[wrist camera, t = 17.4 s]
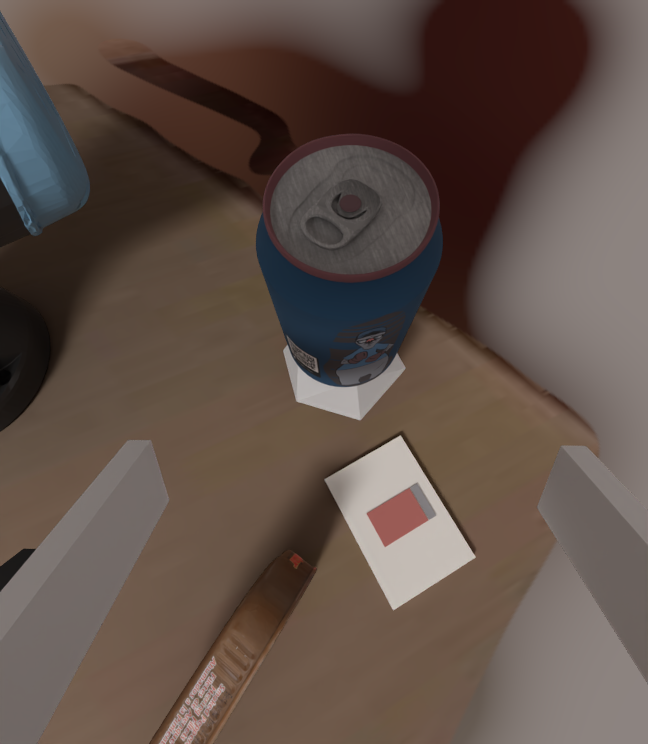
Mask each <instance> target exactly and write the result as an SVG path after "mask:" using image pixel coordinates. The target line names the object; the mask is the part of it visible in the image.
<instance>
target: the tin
mask: <svg viewBox="0 0 648 744" xmlns="http://www.w3.org/2000/svg"><path fill="white" fill-rule="evenodd" d="M316 571H317V568H316V567H313V566H311V565H310V564H308V563H307V562H306V561H305V560H303V559H302V558H301V557H300V556H299V555H297V554H296V553H294V552H293V551H291V550H286V551H284V552H283V553H282V555H281V556H279V557H278V558H276V559H275V560H274V561H272V562H271V563H270V564H269V566H268V567H267V568H266V569H265V570H264V572H263V573H262V574H261V576H260V577H259V578H258V580H257V581H256V582H255V584H254V585H253V586H252V587H251V589H250V590H249V592H248V593H247V595H246V596H245V597H244V599H243V600H242V602H241V603H240V605H239V606H238V608H237V609H236V610H235V612H234V613H233V615H232V616H231V618H230V619H229V621H228V622H227V624H226V625H225V627H224V628H223V630H222V631H221V633H220V634H219V636H218V637H217V639H216V640H215V642H214V643H213V645H212V646H211V648H210V650H209V651H208V653H207V654H206V656H205V657H204V659H203V660H202V662H201V663H200V665H199V666H198V668H197V670H196V671H195V673H194V674H193V676H192V677H191V679H190V680H189V682H188V683H187V685H186V686H185V688H184V689H183V691H182V693H181V694H180V696H179V697H178V699H177V700H176V702H175V704H174V705H173V707H172V708H171V710H170V711H169V713H168V714H167V716H166V718H165V719H164V721H163V722H162V724H161V726H160V727H159V729H158V730H157V732H156V733H155V735H154V736H153V738H152V740H151V741H150V743H149V744H214V742H215V740H216V738H217V737H218V735H219V734H220V732H221V730H222V729H223V727H224V725H225V724H226V722H227V720H228V719H229V717H230V715H231V714H232V712H233V710H234V709H235V707H236V705H237V704H238V702H239V701H240V699H241V697H242V695H243V694H244V692H245V690H246V689H247V687H248V685H249V684H250V682H251V681H252V679H253V677H254V676H255V674H256V672H257V671H258V669H259V668H260V666H261V664H262V663H263V661H264V659H265V658H266V656H267V654H268V653H269V651H270V649H271V648H272V646H273V644H274V643H275V641H276V639H277V637H278V636H279V634H280V632H281V631H282V629H283V628H284V626H285V624H286V623H287V620H288V619H289V617H290V615H291V614H292V612H293V610H294V609H295V607H296V605H297V604H298V602H299V600H300V599H301V597H302V595H303V594H304V592H305V590H306V588H307V587H308V585H309V583H310V581H311V580H312V578H313V576H314V574H315V573H316Z"/></svg>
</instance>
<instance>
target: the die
mask: <svg viewBox="0 0 648 744" xmlns="http://www.w3.org/2000/svg"><path fill="white" fill-rule="evenodd" d="M283 352H284V356H285V360H286V363H287V367H288V371H289V375H290V379H291V382H292V386H293V390H294V394H295V398H296V401H297V402H300V403H304V404H307V405H310V406H314V407H317V408H321V409H324V410H327V411H331V412H334V413H337V414H341V415H344V416H347V417H351V418H354V419H357V420H361V419H362V418H363V417H364V416H365V415H366V413H367V412H368V411H369V410H370V409H371V408H372V407H373V405H374V404H375V403H376V402H377V401H378V400H379V399H380V397H381V396H382V395H383V394H384V393H385V392H386V391H387V389H388V388H389V387H390V386H391V385H392V384H393V383H394V381H395V380H396V379H397V378H398V377H399V376H400V375H401V373H402V372H403V371H404V370H405V369H406V368H405V366H404V364H403V363H402V361H401V359H400V357H399V355H398V353H397V354H396V356H395V358H394V360H393V361H392V363H391V364H390V366H389V367H388V368H387V369H386V370H385V371H384V372H383V373H382V374H381V375H379V376H378V377H376V378H375V379H373V380H371V381H369V382H367V383H365V384H362V385H358V386H353V387H334V386H329V385H326V384H323V383H320V382H318V381H316V380H314V379H312V378H311V377H309V376H308V375H307V374H306V373H304V372H303V371H302V370H301V369H300V368H299V366H298V365H297V364H296V362H295V361H294V359H293V357H292V355H291V353H290V350H289V347H288V345H287V346H286V348H285V349H284V350H283Z"/></svg>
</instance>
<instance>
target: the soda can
mask: <svg viewBox="0 0 648 744" xmlns="http://www.w3.org/2000/svg"><path fill="white" fill-rule="evenodd" d="M439 211H440V200H439V194H438V190H437V187H436V184H435V181H434V179H433V177H432V175H431V173H430V172H429V171H428V169H427V168H426V166H425V165H424V164H423V163H422V162H421V161H420V160H419V159H418V158H417V157H416V156H415V155H414V154H412V153H411V152H410V151H408V150H407V149H405V148H403V147H402V146H400V145H398V144H396V143H394V142H391V141H389V140H386V139H383V138H379V137H376V136H370V135H363V134H340V135H333V136H327V137H323V138H319V139H316V140H313V141H310V142H308V143H306V144H304V145H302V146H300V147H299V148H297V149H296V150H294V151H293V152H292V153H290V154H289V155H288V156H287V157H286V158H285V159H284V160H283V161H282V162H281V163H280V164H279V165H278V167H277V168H276V169H275V170H274V172H273V174H272V175H271V177H270V179H269V181H268V183H267V186H266V189H265V192H264V197H263V213H262V215H261V218H260V221H259V224H258V229H257V235H256V251H257V257H258V261H259V264H260V267H261V270H262V273H263V276H264V278H265V281H266V284H267V287H268V290H269V293H270V296H271V298H272V301H273V304H274V307H275V310H276V313H277V316H278V318H279V321H280V324H281V327H282V330H283V333H284V336H285V339H286V341H287V344H288V347H289V350H290V353H291V355H292V357H293V359H294V361H295V362H296V364H297V365H298V366H299V368H300V369H301V370H302V371H303V372H304V373H306V374H307V375H308V376H309V377H311V378H312V379H314V380H316V381H318V382H320V383H323V384H326V385H329V386H334V387H353V386H358V385H362V384H365V383H367V382H369V381H371V380H373V379H375V378H376V377H378V376H379V375H381V374H382V373H383V372H384V371H385V370H386V369H387V368H388V367H389V366H390V364H391V363H392V361H393V360H394V358H395V356H396V354H397V352H398V350H399V348H400V346H401V343H402V341H403V339H404V337H405V335H406V333H407V331H408V329H409V327H410V325H411V323H412V321H413V319H414V316H415V314H416V312H417V310H418V308H419V306H420V304H421V302H422V300H423V298H424V296H425V294H426V291H427V289H428V287H429V285H430V283H431V281H432V279H433V277H434V275H435V273H436V270H437V268H438V266H439V263H440V260H441V255H442V248H443V236H442V229H441V225H440V220H439Z"/></svg>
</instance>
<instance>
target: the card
mask: <svg viewBox="0 0 648 744" xmlns="http://www.w3.org/2000/svg"><path fill="white" fill-rule="evenodd" d="M324 480H325V482H326V484H327V485H328V487H329V489H330V491H331V493H332V495H333V497H334V499H335V501H336V503H337V504H338V506H339V508H340V510H341V512H342V514H343V516H344V518H345V520H346V522H347V523H348V525H349V527H350V529H351V531H352V533H353V535H354V537H355V539H356V541H357V542H358V544H359V546H360V548H361V550H362V552H363V554H364V556H365V558H366V560H367V561H368V563H369V565H370V567H371V569H372V571H373V573H374V575H375V577H376V579H377V580H378V582H379V584H380V586H381V588H382V590H383V592H384V594H385V596H386V598H387V599H388V601H389V603H390V605H391V607H392V609H393V610H395V609H396V608H398V607H399V606H401V605H402V604H404V603H406V602H407V601H409V600H410V599H412V598H413V597H415V596H416V595H418V594H419V593H421V592H423V591H424V590H426V589H427V588H429V587H430V586H432V585H433V584H435V583H437V582H438V581H440V580H441V579H443V578H444V577H446V576H447V575H449V574H451V573H452V572H454V571H455V570H457V569H458V568H460V567H461V566H463V565H464V564H466V563H468V562H469V561H471V560H472V559H474V558H475V555H474V554H473V552H472V550H471V549H470V547H469V546H468V544H467V542H466V541H465V539H464V537H463V536H462V534H461V533H460V531H459V529H458V528H457V526H456V524H455V523H454V521H453V520H452V518H451V516H450V515H449V513H448V511H447V510H446V508H445V507H444V505H443V503H442V502H441V500H440V498H439V497H438V495H437V494H436V492H435V490H434V489H433V487H432V485H431V484H430V482H429V481H428V479H427V477H426V476H425V474H424V472H423V471H422V469H421V468H420V466H419V464H418V463H417V461H416V459H415V458H414V456H413V455H412V453H411V451H410V450H409V448H408V447H407V445H406V443H405V442H404V440H403V438H402V437H401V435H400V436H399V437H397V438H395V439H393V440H392V441H390V442H388V443H387V444H385V445H383V446H381V447H380V448H378V449H376V450H374V451H373V452H371V453H369V454H367V455H366V456H364V457H362V458H361V459H359V460H357V461H355V462H354V463H352V464H350V465H348V466H347V467H345V468H343V469H342V470H340V471H338V472H336V473H335V474H333V475H331V476H329V477H328V478H326V479H324Z"/></svg>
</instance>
